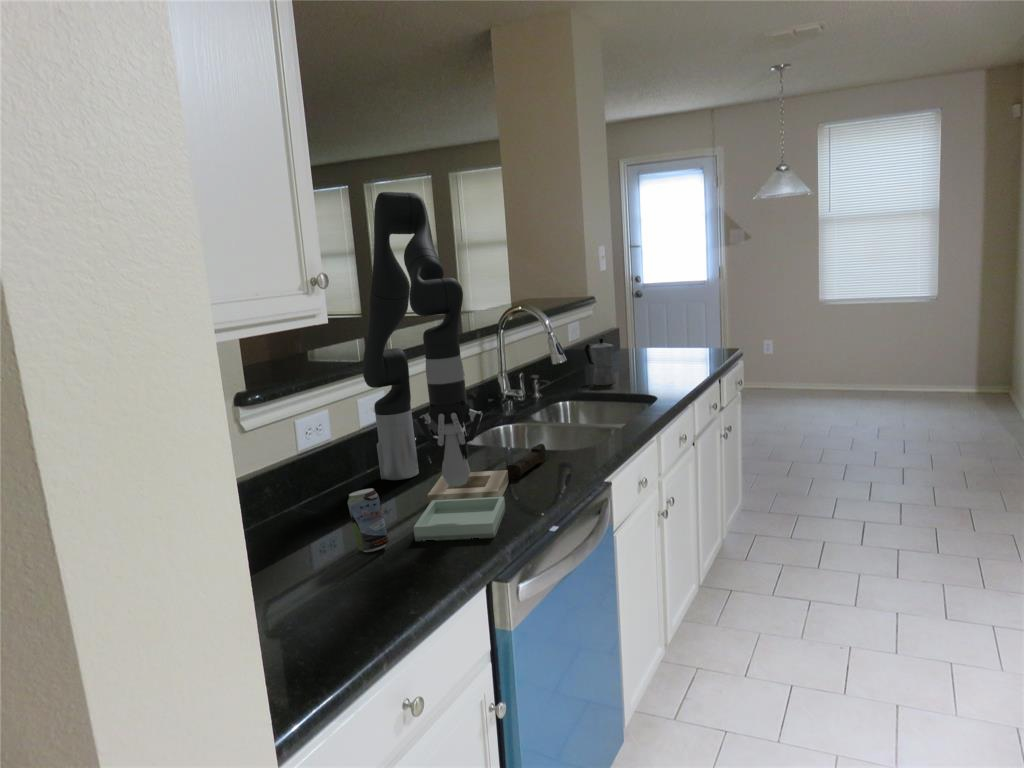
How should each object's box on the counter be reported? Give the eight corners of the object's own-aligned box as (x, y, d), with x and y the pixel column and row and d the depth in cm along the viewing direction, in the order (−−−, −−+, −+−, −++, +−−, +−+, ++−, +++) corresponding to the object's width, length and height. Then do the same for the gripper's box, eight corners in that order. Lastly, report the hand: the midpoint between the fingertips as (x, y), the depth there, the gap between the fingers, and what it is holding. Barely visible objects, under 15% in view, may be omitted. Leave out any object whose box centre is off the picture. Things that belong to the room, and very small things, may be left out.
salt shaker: (449, 489, 153) (442, 426, 151) (439, 483, 158) (431, 422, 156) (476, 483, 156) (469, 421, 154) (464, 477, 161) (457, 417, 159)
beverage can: (375, 557, 146) (367, 497, 144) (347, 552, 150) (338, 494, 148) (396, 545, 151) (389, 487, 149) (369, 541, 155) (361, 484, 153)
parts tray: (415, 541, 152) (413, 527, 152) (433, 513, 168) (432, 500, 167) (494, 537, 150) (492, 523, 149) (505, 509, 165) (504, 496, 165)
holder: (429, 507, 172) (427, 494, 171) (444, 485, 187) (443, 473, 187) (499, 504, 170) (497, 491, 169) (508, 481, 185) (507, 470, 185)
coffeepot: (625, 382, 301) (621, 336, 298) (610, 386, 294) (606, 340, 291) (595, 380, 312) (591, 336, 309) (579, 384, 305) (576, 339, 302)
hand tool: (520, 480, 186) (518, 462, 185) (506, 479, 188) (504, 461, 187) (555, 459, 202) (553, 442, 201) (541, 458, 204) (540, 441, 203)
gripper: (406, 384, 151) (417, 469, 154) (476, 379, 149) (485, 464, 152) (416, 378, 158) (426, 458, 161) (482, 373, 156) (491, 454, 159)
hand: (455, 461), depth 156 cm, fingers closed on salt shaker, 3 cm apart
